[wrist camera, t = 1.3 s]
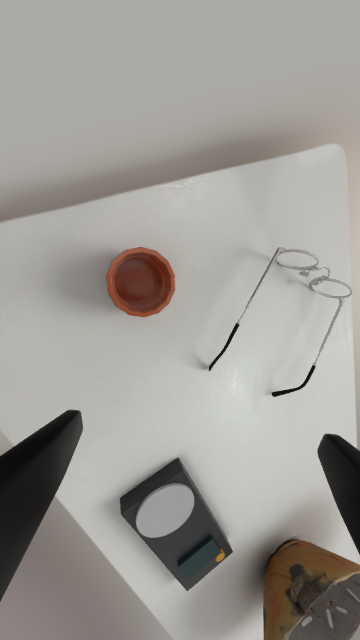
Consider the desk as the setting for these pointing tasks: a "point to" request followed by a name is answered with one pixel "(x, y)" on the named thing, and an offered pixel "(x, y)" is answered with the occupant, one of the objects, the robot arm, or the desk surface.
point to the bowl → (310, 594)
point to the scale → (176, 524)
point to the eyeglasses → (314, 282)
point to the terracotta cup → (140, 282)
